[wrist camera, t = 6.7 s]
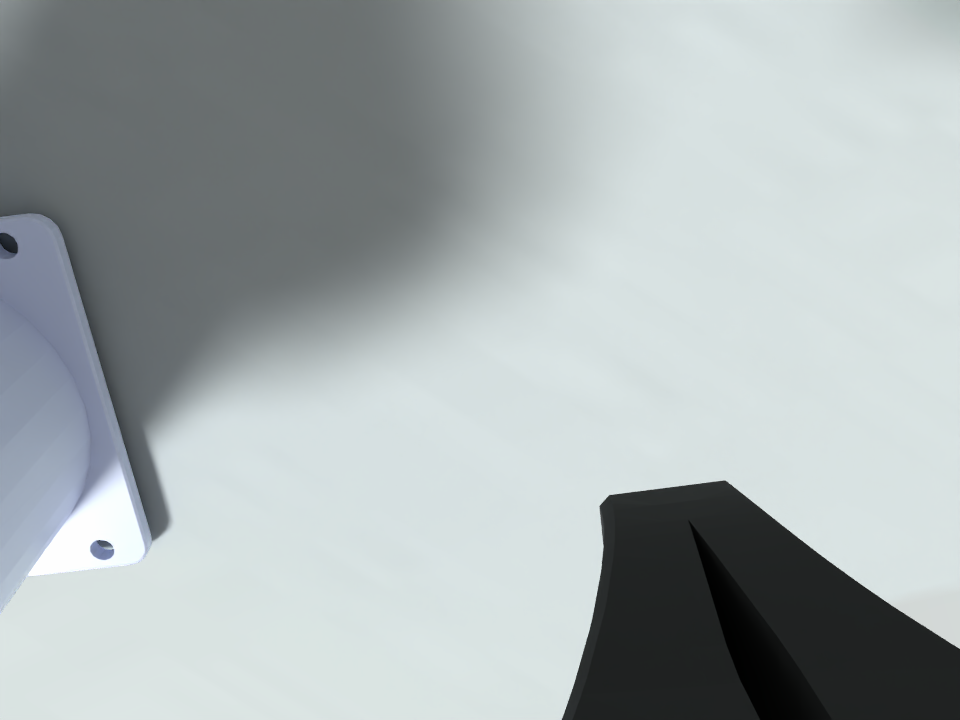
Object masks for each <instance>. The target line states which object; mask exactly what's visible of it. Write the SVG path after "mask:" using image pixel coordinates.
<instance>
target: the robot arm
mask: <svg viewBox="0 0 960 720" xmlns="http://www.w3.org/2000/svg"><path fill="white" fill-rule="evenodd" d="M0 233H7V234H9V235H10V236H12V237H13V238H14V239H15V241H16V242H17V244H18V252H17V254H15V253H10V252H8V251H7V250H5V249H4V248H3V247H2V245H1V244H0V614H1V612H2V611H3V609H4V608H5V607H6V605H7V604H8V602H9V601H10V599H11V598H12V597H13V595H14V594H15V592H16V591H17V590H18V588H19V587H20V585H21V584H22V583H23V581H24V580H25V578H26V577H28V576H37V575H46V574H55V573H63V572H72V571H81V570H90V569H99V568H107V567H116V566H125V565H132V564H135V563H139V562H140V561H141V560H143V559H144V558H145V556H146V554H147V553H148V551H149V549H150V546H151V544H152V538H151V533H150V530H149V526H148V523H147V520H146V516H145V513H144V509H143V506H142V503H141V499H140V496H139V493H138V489H137V486H136V482H135V479H134V476H133V472H132V469H131V466H130V462H129V459H128V455H127V452H126V449H125V445H124V442H123V438H122V435H121V432H120V428H119V425H118V422H117V418H116V415H115V411H114V408H113V405H112V401H111V398H110V395H109V391H108V388H107V384H106V381H105V378H104V374H103V371H102V368H101V364H100V361H99V357H98V354H97V351H96V347H95V344H94V341H93V337H92V334H91V330H90V327H89V324H88V320H87V317H86V314H85V310H84V307H83V303H82V300H81V297H80V293H79V290H78V286H77V283H76V280H75V276H74V273H73V270H72V266H71V263H70V259H69V256H68V253H67V249H66V246H65V243H64V239H63V236H62V234H61V232H60V230H59V228H58V226H57V225H56V224H55V223H54V222H53V221H52V220H51V219H50V218H47V217H45V216H43V215H41V214H32V213H28V214H20V215H11V216H3V217H0ZM600 515H601V525H602V535H603V545H604V549H603V559H602V569H601V576H600V581H599V586H598V592H597V597H596V603H595V608H594V613H593V618H592V623H591V627H590V631H589V634H588V638H587V641H586V645H585V648H584V652H583V655H582V659H581V662H580V666H579V669H578V673H577V676H576V680H575V683H574V686H573V689H572V692H571V695H570V698H569V701H568V704H567V707H566V710H565V713H564V715H563V718H562V720H960V649H959V648H957V647H956V646H954V645H952V644H951V643H949V642H948V641H946V640H945V639H943V638H941V637H940V636H938V635H937V634H935V633H933V632H932V631H930V630H929V629H927V628H926V627H924V626H923V625H921V624H919V623H918V622H916V621H915V620H913V619H912V618H910V617H908V616H907V615H905V614H904V613H902V612H901V611H899V610H898V609H896V608H894V607H893V606H891V605H890V604H889V603H887V602H886V601H884V600H883V599H881V598H880V597H878V596H877V595H875V594H874V593H872V592H871V591H870V590H868V589H867V588H865V587H864V586H862V585H861V584H859V583H858V582H857V581H855V580H854V579H852V578H851V577H850V576H848V575H847V574H846V573H844V572H843V571H841V570H840V569H839V568H837V567H836V566H835V565H833V564H832V563H830V562H829V561H828V560H826V559H825V558H824V557H822V556H821V555H820V554H818V553H817V552H816V551H814V550H813V549H812V548H810V547H809V546H808V545H807V544H805V543H804V542H803V541H801V540H800V539H799V538H798V537H796V536H795V535H794V534H792V533H791V532H790V531H789V530H787V529H786V528H785V527H784V526H782V525H781V524H780V523H778V522H777V521H776V520H775V519H773V518H772V517H771V516H770V515H768V514H767V513H766V512H765V511H763V510H762V509H761V508H760V507H758V506H757V505H756V504H755V503H753V502H752V501H751V500H750V499H748V498H747V497H746V496H744V495H743V494H742V493H741V492H739V491H738V490H737V489H736V488H734V487H733V486H732V485H730V484H729V483H728V482H727V481H717V482H709V483H702V484H694V485H686V486H678V487H670V488H662V489H654V490H647V491H639V492H631V493H623V494H615V495H609V496H608V497H607V498H606V500H605V501H604V502H603V503H602V504H601V505H600ZM97 540H105V541H107V542H109V543H111V545H112V546H113V548H114V549H112V550H109V549H104V548H102V547H101V546H99V544H98V543H97Z"/></svg>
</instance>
